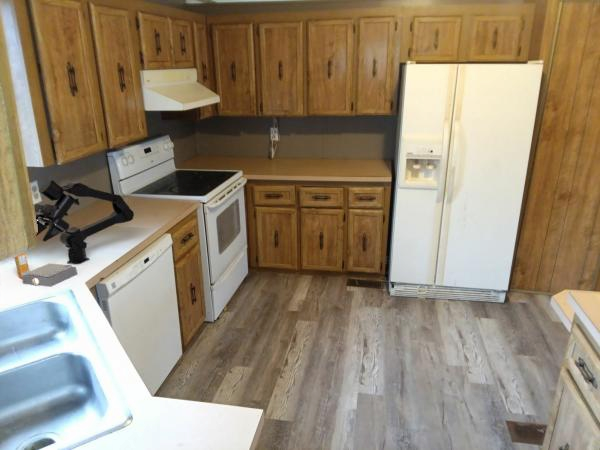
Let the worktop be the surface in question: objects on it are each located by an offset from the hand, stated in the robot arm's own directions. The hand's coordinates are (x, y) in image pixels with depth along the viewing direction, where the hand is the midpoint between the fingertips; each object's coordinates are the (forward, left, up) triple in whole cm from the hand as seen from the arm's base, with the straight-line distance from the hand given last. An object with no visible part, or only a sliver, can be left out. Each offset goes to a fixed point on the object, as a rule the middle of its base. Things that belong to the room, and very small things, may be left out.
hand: (37, 239), depth 177 cm
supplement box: (+7, -2, -14) cm, 16 cm away
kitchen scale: (+6, +10, -14) cm, 18 cm away
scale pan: (+6, +10, -11) cm, 15 cm away
